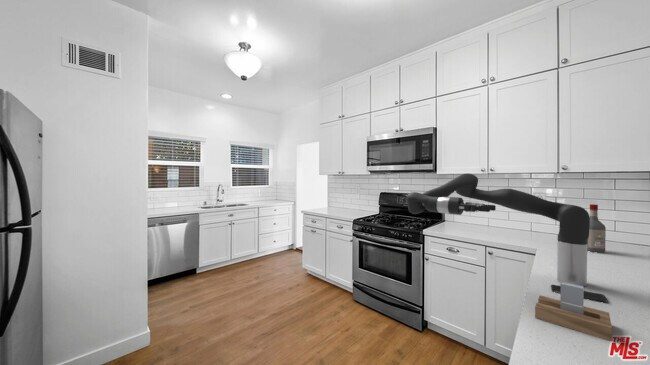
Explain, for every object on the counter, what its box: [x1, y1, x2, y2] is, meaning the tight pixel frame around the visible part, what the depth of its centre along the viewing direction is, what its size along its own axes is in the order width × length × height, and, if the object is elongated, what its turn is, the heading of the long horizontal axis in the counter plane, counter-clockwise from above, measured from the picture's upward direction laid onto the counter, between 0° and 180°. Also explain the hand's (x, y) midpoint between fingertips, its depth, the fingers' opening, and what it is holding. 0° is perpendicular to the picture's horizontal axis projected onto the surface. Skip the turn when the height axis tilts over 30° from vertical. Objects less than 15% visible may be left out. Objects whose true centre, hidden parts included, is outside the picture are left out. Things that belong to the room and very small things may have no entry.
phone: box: [550, 284, 609, 304], centre depth 98 cm, size 8×1×15 cm
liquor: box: [587, 203, 607, 254], centre depth 164 cm, size 9×9×30 cm
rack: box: [534, 294, 613, 342], centre depth 78 cm, size 12×16×4 cm
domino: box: [560, 282, 585, 315], centre depth 78 cm, size 2×5×11 cm, turn 44°
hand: (492, 208), depth 102 cm, fingers open, 8 cm apart
